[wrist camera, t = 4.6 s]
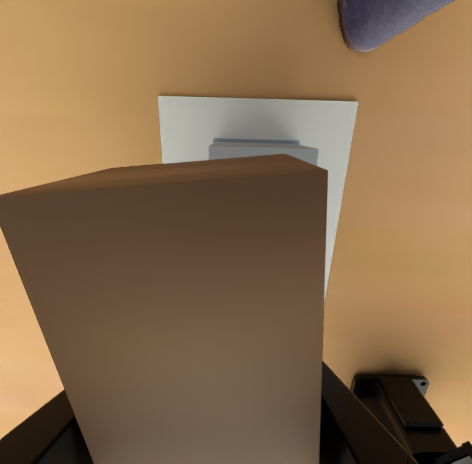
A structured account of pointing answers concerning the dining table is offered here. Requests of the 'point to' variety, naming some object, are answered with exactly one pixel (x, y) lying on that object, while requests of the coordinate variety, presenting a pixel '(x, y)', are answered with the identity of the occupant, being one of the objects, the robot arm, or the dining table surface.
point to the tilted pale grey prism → (261, 150)
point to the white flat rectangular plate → (264, 135)
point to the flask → (381, 19)
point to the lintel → (182, 305)
